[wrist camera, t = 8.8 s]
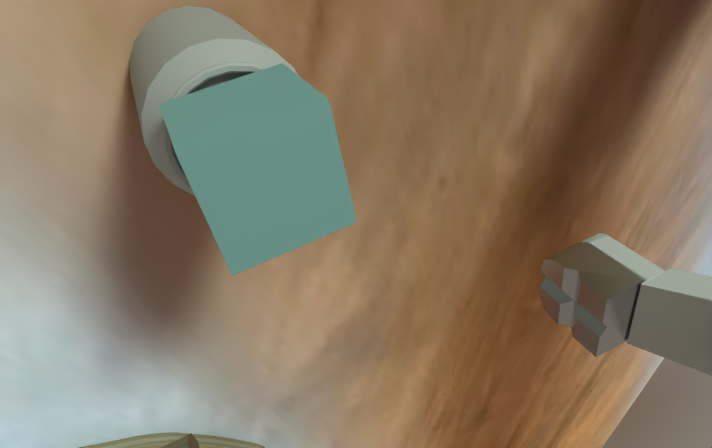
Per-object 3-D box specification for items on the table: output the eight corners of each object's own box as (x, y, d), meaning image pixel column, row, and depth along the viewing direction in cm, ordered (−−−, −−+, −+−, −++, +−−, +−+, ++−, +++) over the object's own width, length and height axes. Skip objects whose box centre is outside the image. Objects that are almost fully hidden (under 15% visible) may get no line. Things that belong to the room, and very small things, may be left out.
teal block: (282, 63, 19) (328, 99, 16) (311, 169, 22) (357, 222, 18) (158, 104, 18) (175, 154, 14) (207, 210, 21) (231, 275, 17)
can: (263, 119, 33) (329, 198, 23) (146, 139, 30) (169, 236, 21) (248, -2, 29) (320, 35, 19) (111, 9, 26) (119, 59, 17)
